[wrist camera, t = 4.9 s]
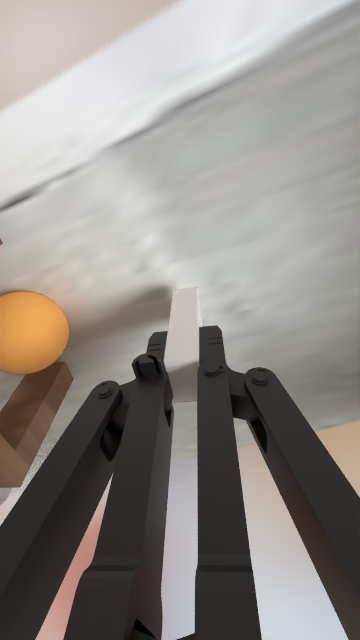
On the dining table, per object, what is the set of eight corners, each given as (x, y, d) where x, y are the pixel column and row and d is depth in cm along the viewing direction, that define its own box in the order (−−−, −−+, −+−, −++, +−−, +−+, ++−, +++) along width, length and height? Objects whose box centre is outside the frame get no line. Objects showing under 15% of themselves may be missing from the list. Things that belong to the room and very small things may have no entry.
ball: (4, 277, 20) (67, 275, 19) (37, 337, 23) (94, 340, 22) (-68, 321, 16) (4, 323, 14) (-17, 387, 19) (48, 396, 17)
